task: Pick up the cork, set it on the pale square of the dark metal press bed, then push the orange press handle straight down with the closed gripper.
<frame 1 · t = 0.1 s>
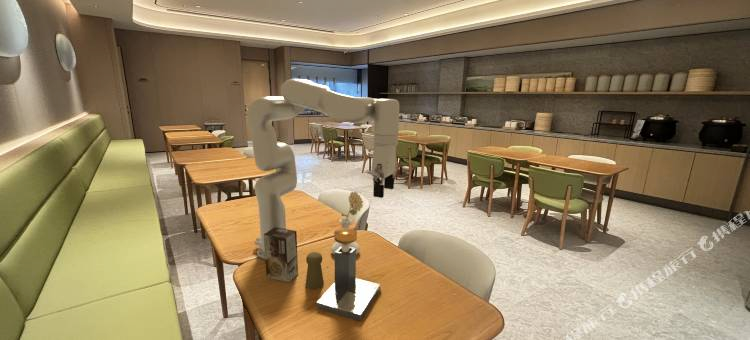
hand: (383, 192, 102), 31 cm above the table, tool pointing down, fingers open, 9 cm apart
press stand: (350, 298, 98), on the table
cork: (314, 284, 105), on the table
coffee box: (282, 275, 110), on the table
flower in vase: (347, 252, 127), on the table
press handle: (345, 251, 100), point 14 cm above the table, slide at 0.0 cm
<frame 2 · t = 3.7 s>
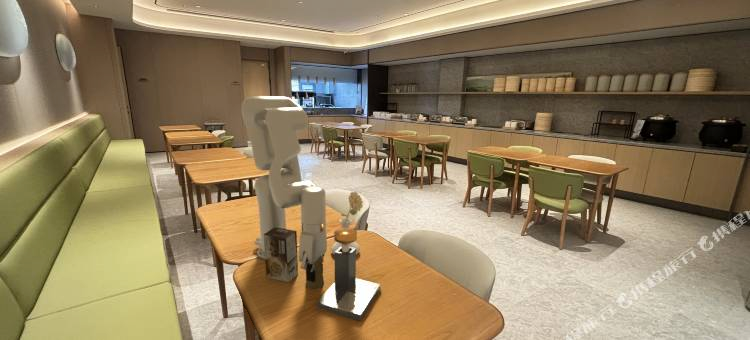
hand: (314, 276, 104), 3 cm above the table, tool pointing down, fingers closed on cork, 3 cm apart
cork: (314, 284, 105), on the table, touching gripper
everything else where it was.
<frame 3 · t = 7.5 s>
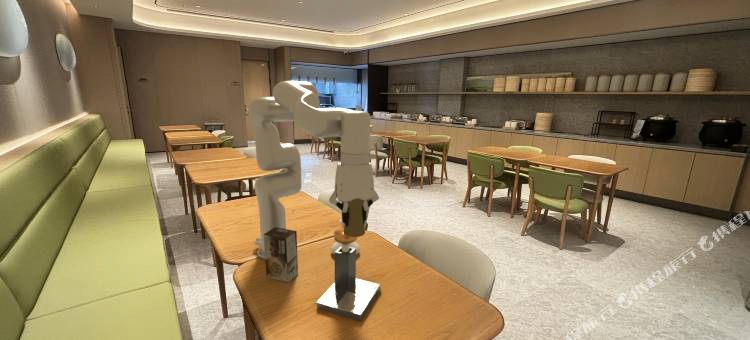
hand: (354, 223, 87), 27 cm above the table, tool pointing down, fingers closed on cork, 3 cm apart
cork: (354, 232, 88), point 24 cm above the table, touching gripper
everything else where it was.
when the fingers open (6 cm above the table, at t = 11.2 s): cork stays where it is, resting on press stand.
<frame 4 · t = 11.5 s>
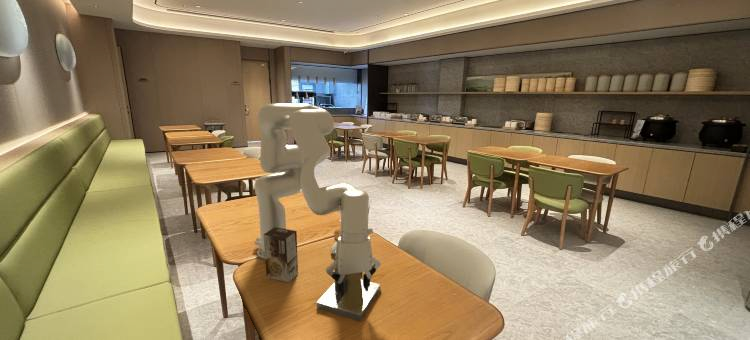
hand: (353, 290, 92), 6 cm above the table, tool pointing down, fingers open, 6 cm apart
cork: (353, 302, 93), point 2 cm above the table, touching press stand
everything else where it was.
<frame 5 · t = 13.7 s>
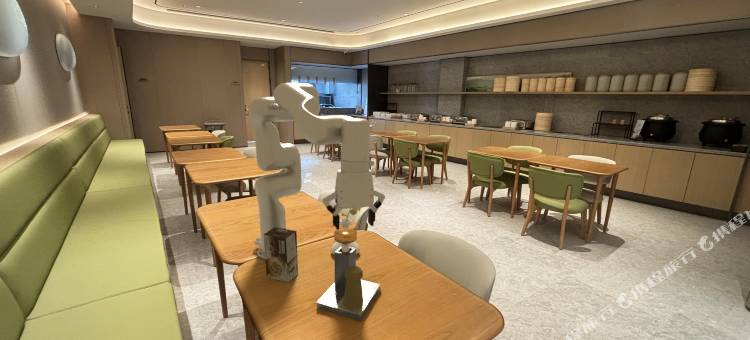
hand: (354, 225, 88), 26 cm above the table, tool pointing down, fingers open, 9 cm apart
nothing on the table moved.
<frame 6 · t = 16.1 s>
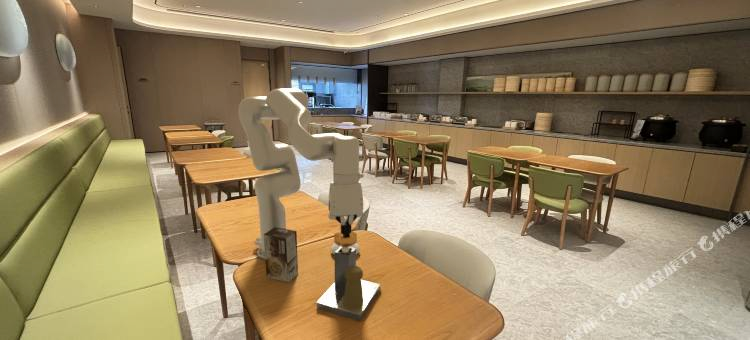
hand: (346, 235, 98), 19 cm above the table, tool pointing down, fingers closed
press handle: (345, 254, 100), point 13 cm above the table, slide at 0.9 cm, touching gripper
everything else where it was.
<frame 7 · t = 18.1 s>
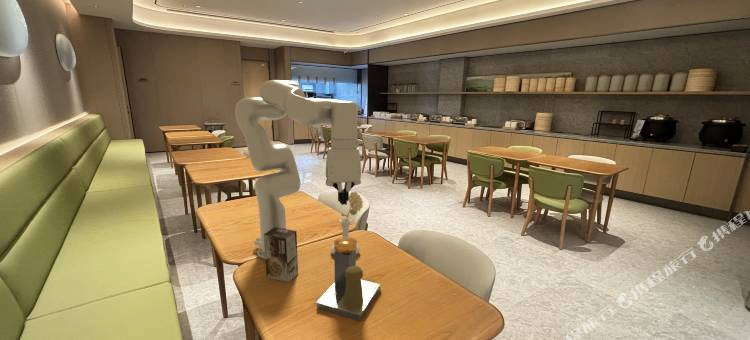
hand: (343, 203, 97), 29 cm above the table, tool pointing down, fingers closed
press handle: (345, 260, 100), point 10 cm above the table, slide at 3.2 cm
everything else where it was.
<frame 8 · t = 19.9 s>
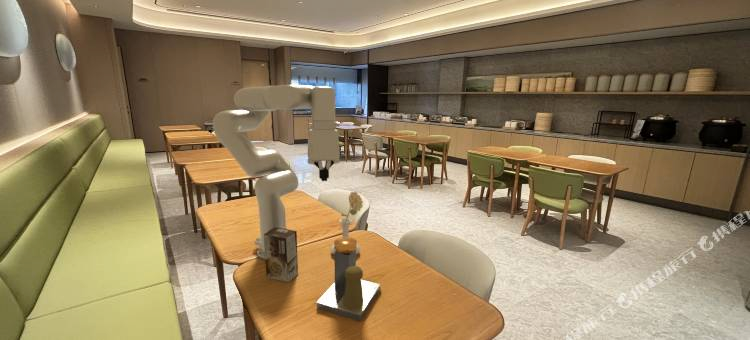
hand: (324, 180, 107), 33 cm above the table, tool pointing down, fingers closed
nothing on the table moved.
at the end: cork 0.1 cm from the target spot on the press stand, point 2.0 cm above the press stand's base; cork tilted 0°; press handle slide at 3.2 cm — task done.
